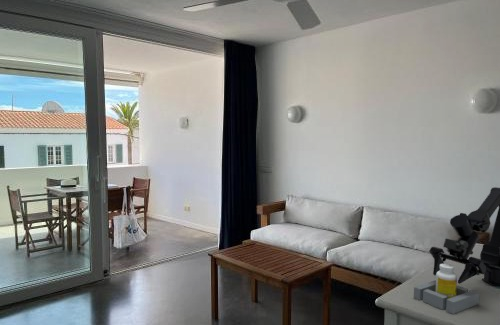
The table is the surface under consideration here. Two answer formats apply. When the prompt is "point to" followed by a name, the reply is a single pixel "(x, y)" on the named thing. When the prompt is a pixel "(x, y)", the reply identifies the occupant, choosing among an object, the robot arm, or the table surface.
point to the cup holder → (441, 301)
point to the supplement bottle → (446, 281)
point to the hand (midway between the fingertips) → (446, 278)
